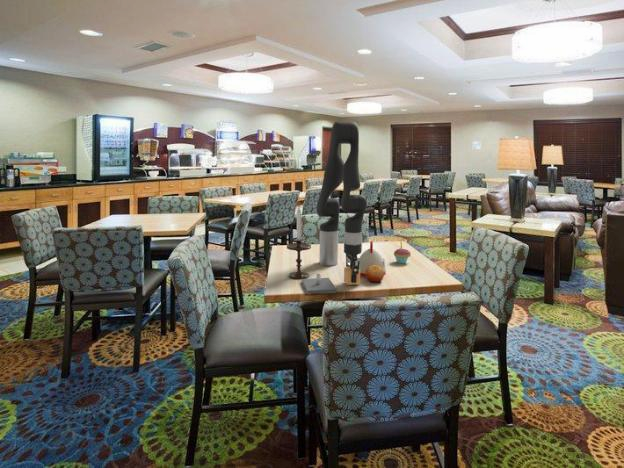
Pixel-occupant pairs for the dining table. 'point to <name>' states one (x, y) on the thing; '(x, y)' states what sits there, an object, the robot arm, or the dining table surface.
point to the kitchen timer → (370, 260)
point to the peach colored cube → (348, 276)
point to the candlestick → (298, 249)
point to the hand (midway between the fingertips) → (351, 280)
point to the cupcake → (401, 254)
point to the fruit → (375, 273)
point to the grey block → (319, 285)
